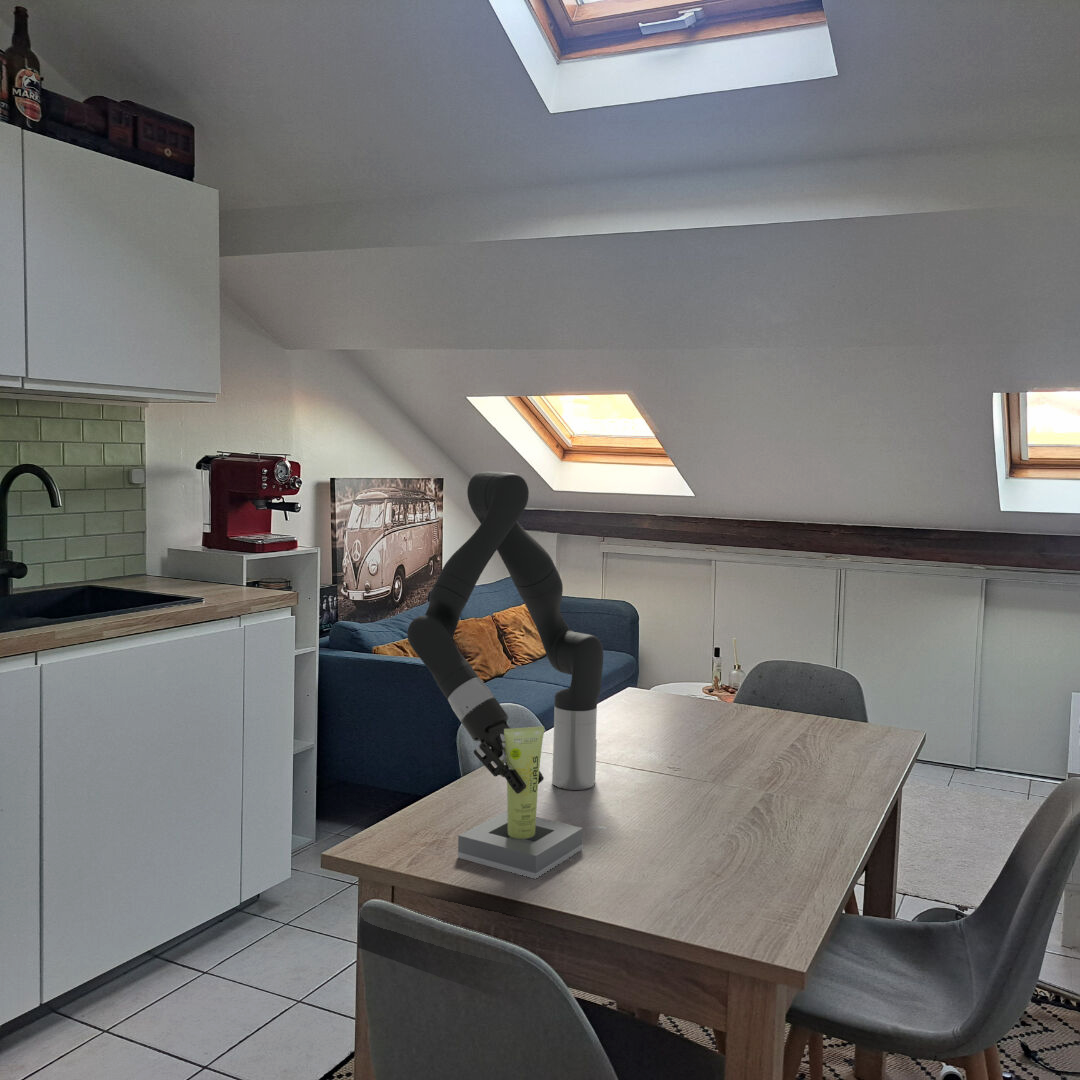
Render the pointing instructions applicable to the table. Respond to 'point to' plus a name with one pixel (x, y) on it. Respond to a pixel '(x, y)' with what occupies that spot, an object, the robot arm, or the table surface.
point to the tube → (526, 761)
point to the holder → (520, 846)
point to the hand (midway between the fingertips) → (530, 786)
